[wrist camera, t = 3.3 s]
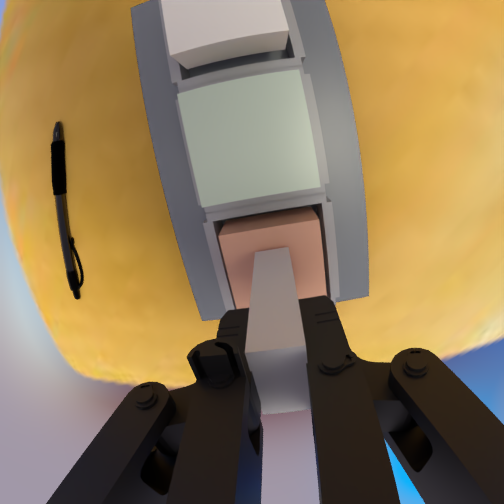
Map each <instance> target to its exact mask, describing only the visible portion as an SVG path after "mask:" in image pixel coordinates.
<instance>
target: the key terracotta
mask: <svg viewBox="0 0 504 504" xmlns="http://www.w3.org/2000/svg"><path fill="white" fill-rule="evenodd" d="M218 237H219V241H220V245H221V249H222V253H223V257H224V261H225V265H226V269H227V273H228V277H229V281H230V285H231V289H232V293H233V297H234V301H235V304H236V308H237V309H242V308H249V307H250V297H251V287H252V278H253V268H254V258H255V252H259V251H265V250H272V249H278V248H284V247H289V253H290V258H291V263H292V268H293V274H294V279H295V285H296V290H297V296H298V299H304V298H310V297H316V296H322V295H326V296H327V292H326V280H325V269H324V258H323V248H322V239H321V230H320V222H319V218H318V217H317V215H316V214H315V212H314V211H313V209H312V207H311V206H310V207H303V208H297V209H291V210H284V211H278V212H272V213H266V214H260V215H255V216H249V217H243V218H238V219H232V220H226V221H225V223H224V225H223V227H222V229H221V232H220V234H219V236H218Z"/></svg>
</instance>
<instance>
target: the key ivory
mask: <svg viewBox="0 0 504 504" xmlns="http://www.w3.org/2000/svg"><path fill="white" fill-rule="evenodd" d="M161 4H162V11H163V17H164V23H165V30H166V36H167V42H168V47H169V53H170V56H171V57H172V58H174V59H175V60H176V61H177V62H179V63H180V64H181V65H182V66H184V67H185V68H186V69H190V68H194V67H197V66H201V65H205V64H209V63H213V62H217V61H221V60H226V59H230V58H235V57H240V56H245V55H251V54H257V53H263V52H270V51H277V50H285V48H286V43H287V38H288V34H289V28H288V24H287V21H286V17H285V14H284V10H283V7H282V3H281V0H161Z"/></svg>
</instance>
